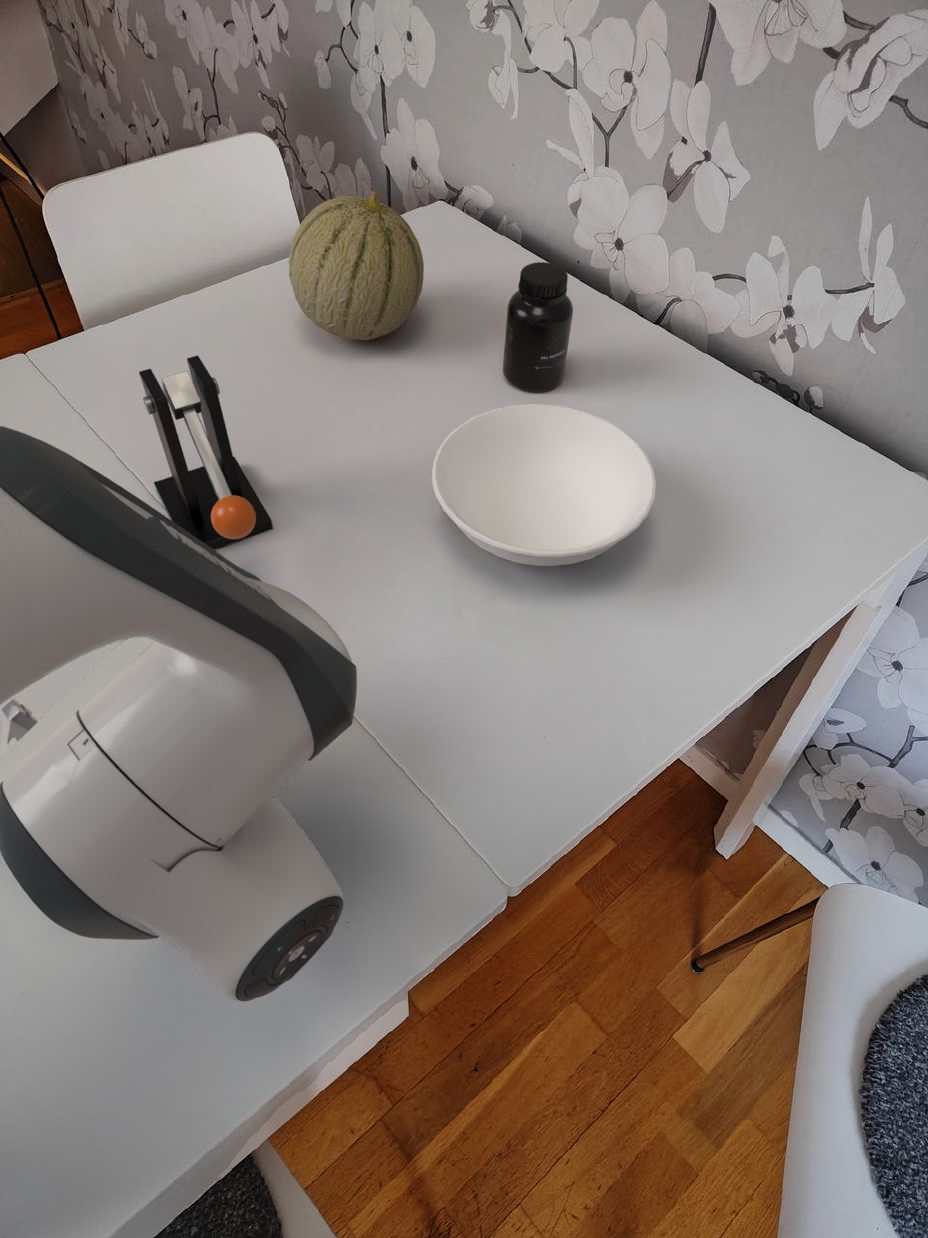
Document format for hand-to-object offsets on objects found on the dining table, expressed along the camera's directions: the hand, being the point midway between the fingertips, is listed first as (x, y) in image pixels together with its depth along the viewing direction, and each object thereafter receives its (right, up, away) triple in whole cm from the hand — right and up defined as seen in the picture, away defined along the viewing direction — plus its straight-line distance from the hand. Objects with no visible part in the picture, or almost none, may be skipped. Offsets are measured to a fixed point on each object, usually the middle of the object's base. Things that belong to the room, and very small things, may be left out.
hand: (63, 661), depth 62 cm
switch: (+7, +16, +12) cm, 21 cm away
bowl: (+35, +12, +20) cm, 42 cm away
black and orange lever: (+5, +13, +20) cm, 25 cm away
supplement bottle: (+36, +30, +35) cm, 58 cm away
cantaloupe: (+17, +37, +40) cm, 57 cm away
